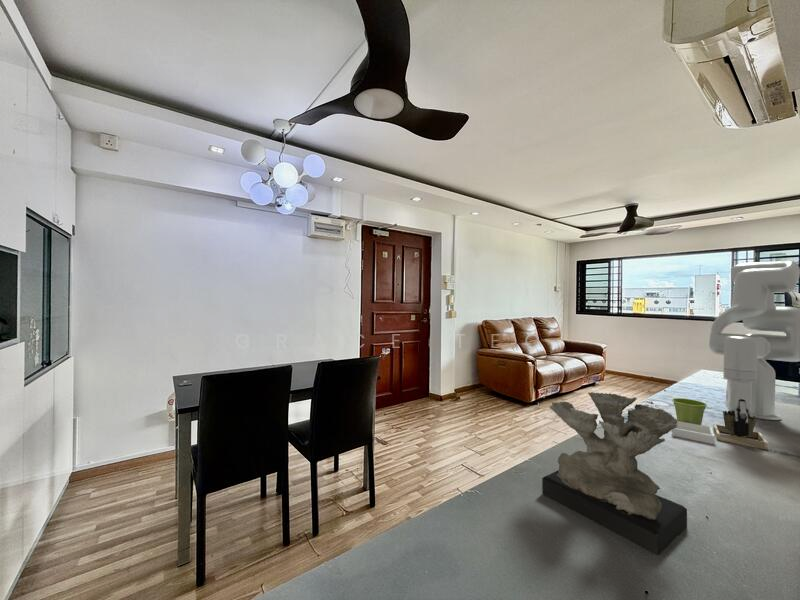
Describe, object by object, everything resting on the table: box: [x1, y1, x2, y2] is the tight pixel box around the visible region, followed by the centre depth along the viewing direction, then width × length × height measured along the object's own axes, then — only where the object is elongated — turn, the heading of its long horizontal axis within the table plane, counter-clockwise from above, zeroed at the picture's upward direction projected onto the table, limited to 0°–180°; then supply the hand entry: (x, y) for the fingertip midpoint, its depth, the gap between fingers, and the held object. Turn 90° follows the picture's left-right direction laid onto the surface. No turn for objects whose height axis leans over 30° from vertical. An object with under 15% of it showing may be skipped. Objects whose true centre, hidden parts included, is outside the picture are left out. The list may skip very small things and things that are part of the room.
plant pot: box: [671, 397, 708, 425], centre depth 118 cm, size 9×9×9 cm
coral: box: [541, 391, 688, 556], centre depth 72 cm, size 25×20×22 cm
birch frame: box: [712, 423, 769, 451], centre depth 108 cm, size 11×11×2 cm
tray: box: [671, 421, 716, 445], centre depth 110 cm, size 10×10×2 cm
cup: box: [722, 410, 757, 439], centre depth 108 cm, size 8×7×8 cm
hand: (738, 430), depth 108 cm, fingers closed on cup, 7 cm apart
